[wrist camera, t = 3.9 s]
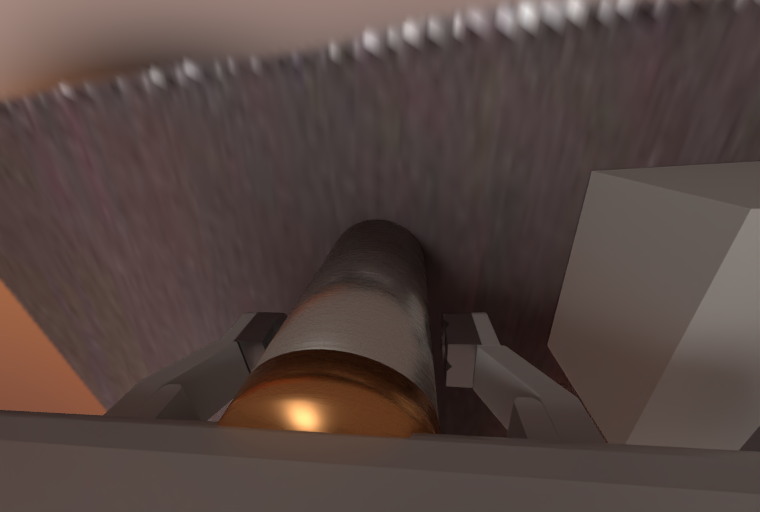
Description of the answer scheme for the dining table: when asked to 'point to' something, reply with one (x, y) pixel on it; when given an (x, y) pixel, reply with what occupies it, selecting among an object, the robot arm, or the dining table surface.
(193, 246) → the dining table surface
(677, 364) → the grey pedestal block
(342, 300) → the glass jar
